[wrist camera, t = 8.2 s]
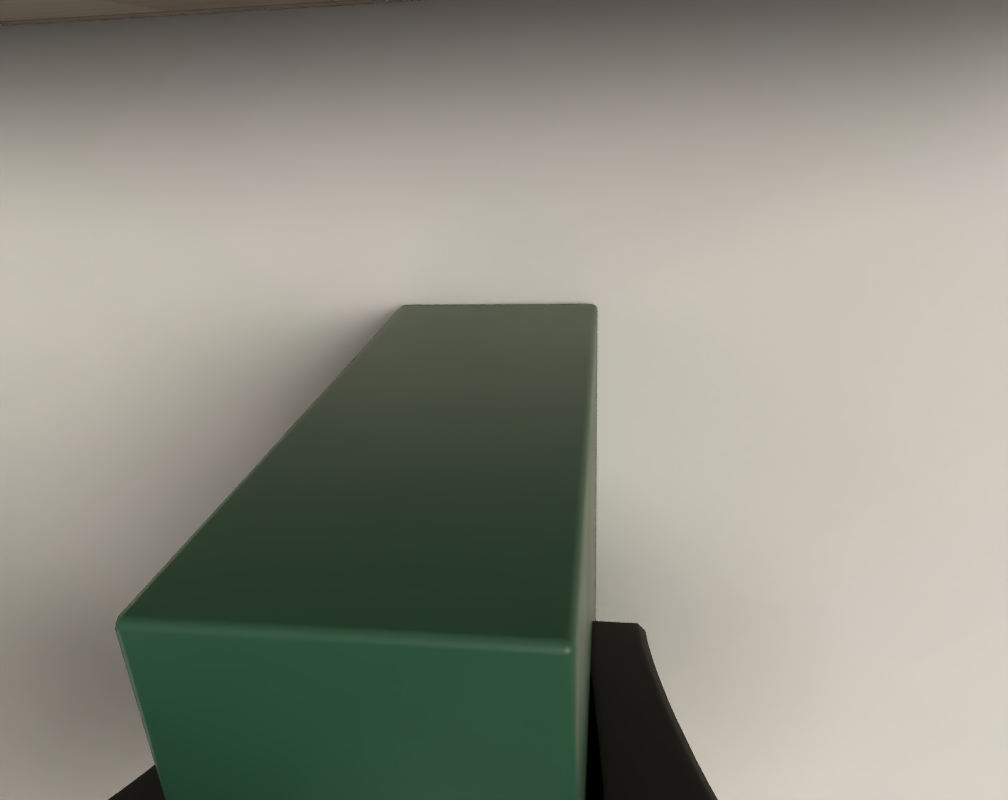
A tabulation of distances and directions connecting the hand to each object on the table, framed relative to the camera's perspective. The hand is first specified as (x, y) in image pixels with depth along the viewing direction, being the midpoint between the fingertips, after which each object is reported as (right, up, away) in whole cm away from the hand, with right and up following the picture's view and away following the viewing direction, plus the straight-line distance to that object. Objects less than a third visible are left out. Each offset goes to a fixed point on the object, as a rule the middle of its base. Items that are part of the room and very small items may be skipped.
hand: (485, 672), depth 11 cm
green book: (0, +1, +3) cm, 3 cm away
